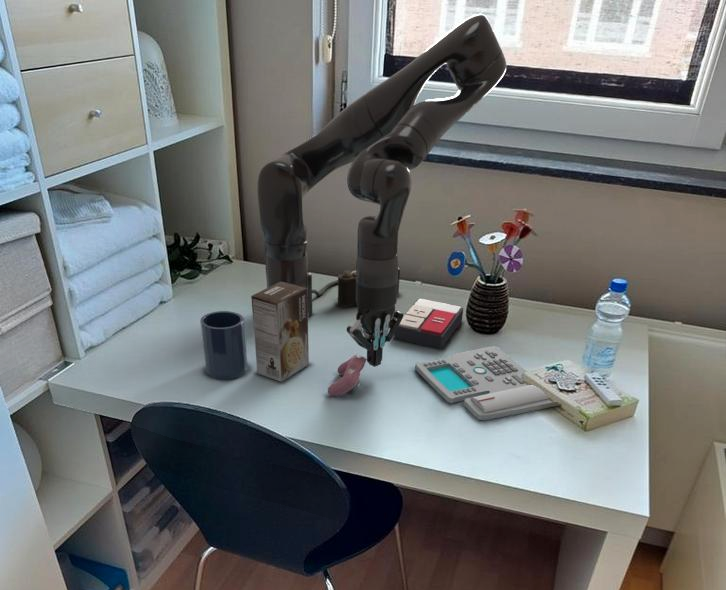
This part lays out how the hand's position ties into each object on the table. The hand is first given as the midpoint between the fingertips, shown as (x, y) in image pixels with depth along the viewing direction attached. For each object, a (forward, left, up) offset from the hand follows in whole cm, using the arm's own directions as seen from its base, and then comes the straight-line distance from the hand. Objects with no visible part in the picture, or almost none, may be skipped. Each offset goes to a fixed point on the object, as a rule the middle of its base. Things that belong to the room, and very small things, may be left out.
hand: (374, 364), depth 132 cm
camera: (-25, -30, -3) cm, 39 cm away
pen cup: (+21, -20, -3) cm, 29 cm away
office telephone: (-15, +16, -3) cm, 22 cm away
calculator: (-24, -8, -3) cm, 25 cm away
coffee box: (+12, -13, -3) cm, 18 cm away
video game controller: (+7, 0, -3) cm, 7 cm away
